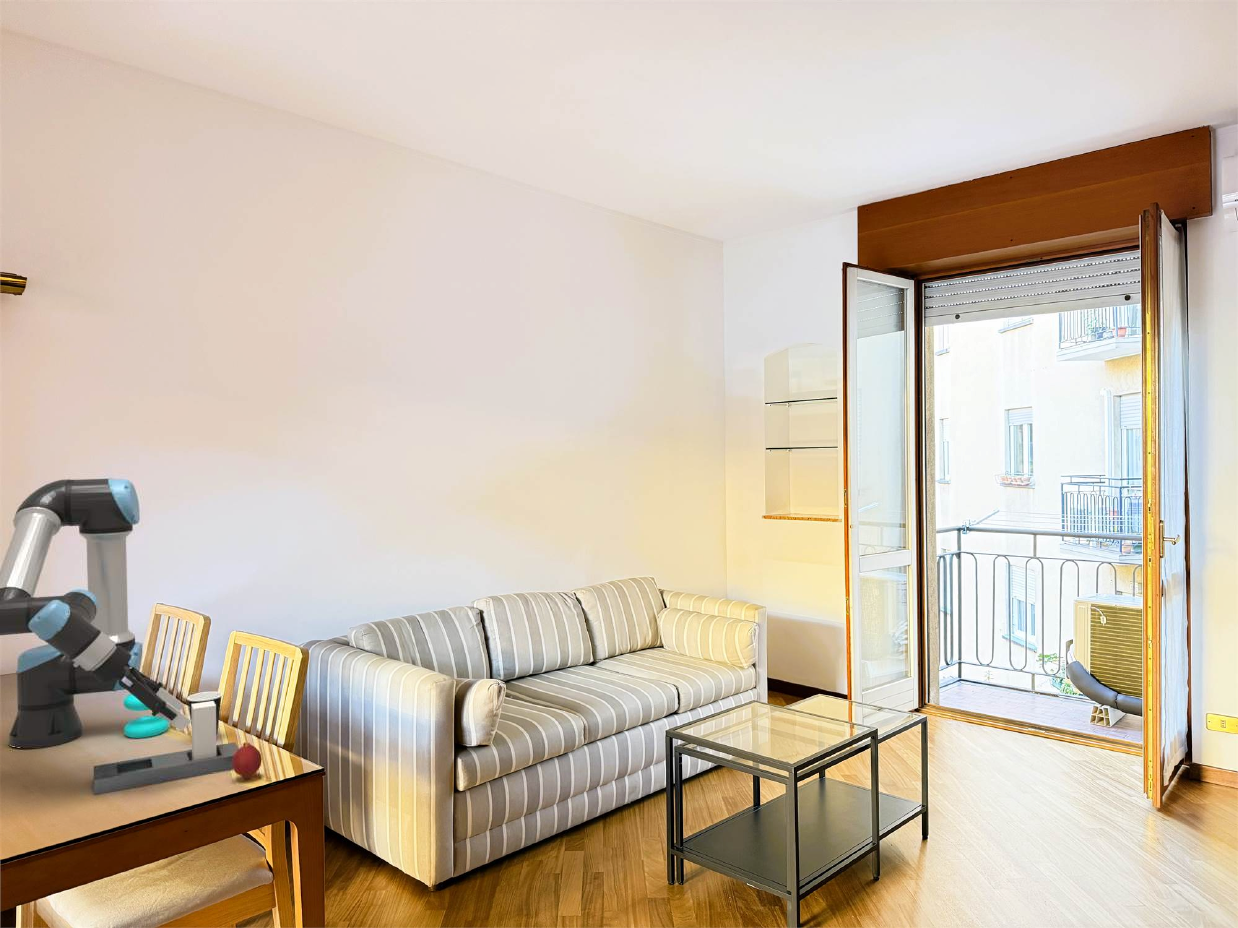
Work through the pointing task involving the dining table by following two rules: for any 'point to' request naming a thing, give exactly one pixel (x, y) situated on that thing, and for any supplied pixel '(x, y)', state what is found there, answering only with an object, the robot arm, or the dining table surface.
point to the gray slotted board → (160, 769)
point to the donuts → (143, 721)
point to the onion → (246, 760)
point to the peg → (203, 730)
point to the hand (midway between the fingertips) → (183, 717)
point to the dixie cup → (206, 698)
